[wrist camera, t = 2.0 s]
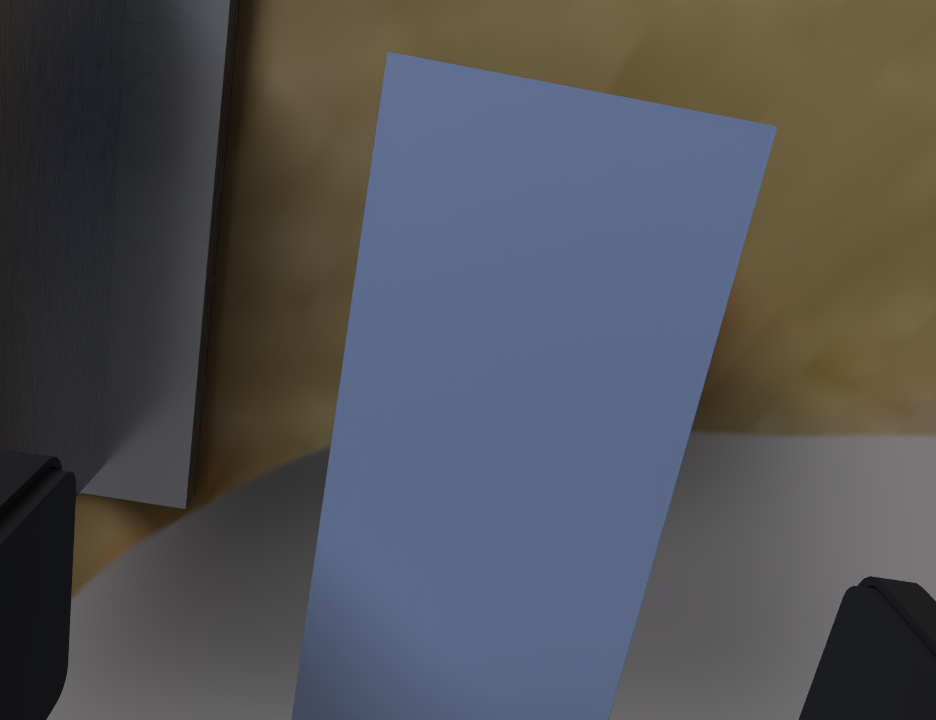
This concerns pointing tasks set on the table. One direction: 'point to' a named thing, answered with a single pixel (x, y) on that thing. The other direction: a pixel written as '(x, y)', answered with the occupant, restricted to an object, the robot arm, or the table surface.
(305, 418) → the table surface
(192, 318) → the book rack
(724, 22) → the table surface
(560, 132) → the book
